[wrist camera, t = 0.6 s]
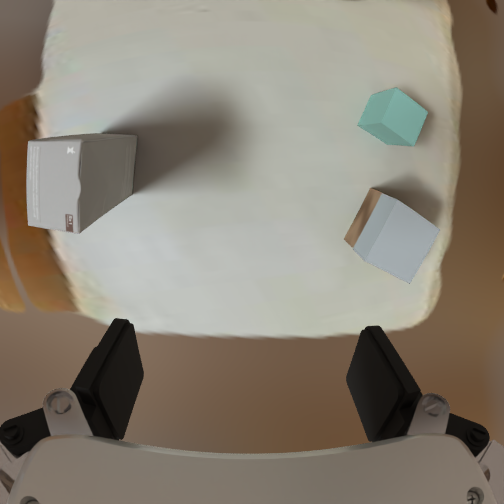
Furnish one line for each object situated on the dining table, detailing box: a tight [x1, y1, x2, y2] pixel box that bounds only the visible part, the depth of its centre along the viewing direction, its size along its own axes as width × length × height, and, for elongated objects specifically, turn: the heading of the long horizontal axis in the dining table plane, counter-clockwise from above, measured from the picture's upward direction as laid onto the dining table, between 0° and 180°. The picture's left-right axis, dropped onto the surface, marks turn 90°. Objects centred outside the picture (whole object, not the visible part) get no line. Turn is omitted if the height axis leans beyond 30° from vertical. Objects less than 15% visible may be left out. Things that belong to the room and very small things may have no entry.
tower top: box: [353, 193, 440, 284], centre depth 33 cm, size 8×8×4 cm
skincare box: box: [27, 133, 138, 234], centre depth 27 cm, size 8×7×16 cm
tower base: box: [344, 188, 384, 248], centre depth 37 cm, size 8×8×4 cm
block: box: [357, 88, 428, 146], centre depth 30 cm, size 5×5×7 cm
